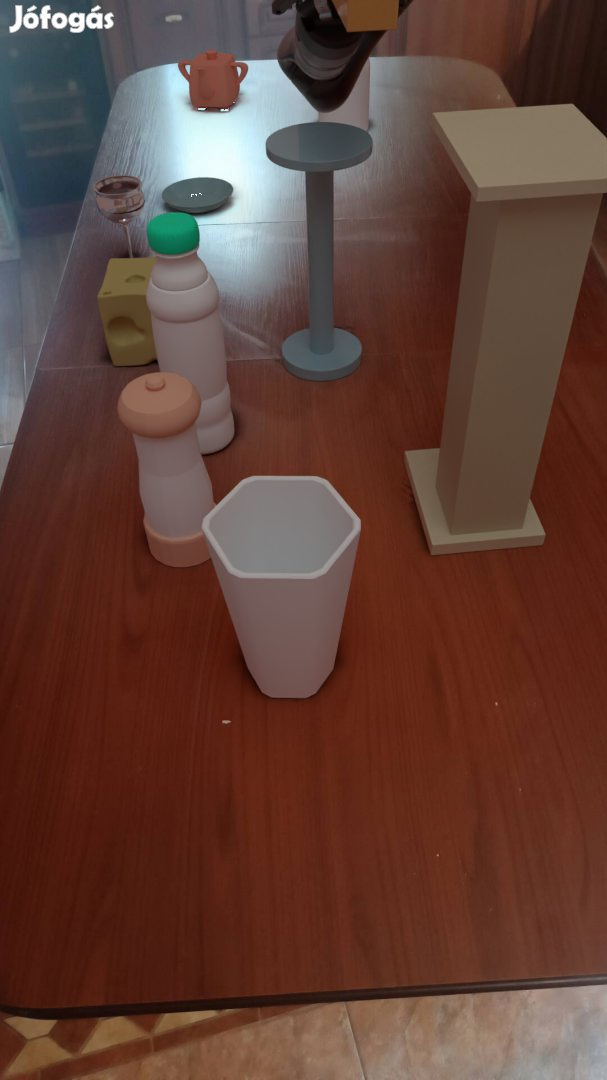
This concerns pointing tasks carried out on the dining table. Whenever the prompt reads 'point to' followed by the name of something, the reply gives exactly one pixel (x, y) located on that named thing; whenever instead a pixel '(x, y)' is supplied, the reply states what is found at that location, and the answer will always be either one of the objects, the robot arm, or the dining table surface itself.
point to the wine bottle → (354, 104)
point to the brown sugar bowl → (213, 79)
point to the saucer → (210, 189)
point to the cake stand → (320, 242)
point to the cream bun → (368, 14)
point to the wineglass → (120, 201)
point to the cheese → (127, 311)
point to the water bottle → (189, 323)
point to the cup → (285, 576)
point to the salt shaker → (169, 465)
